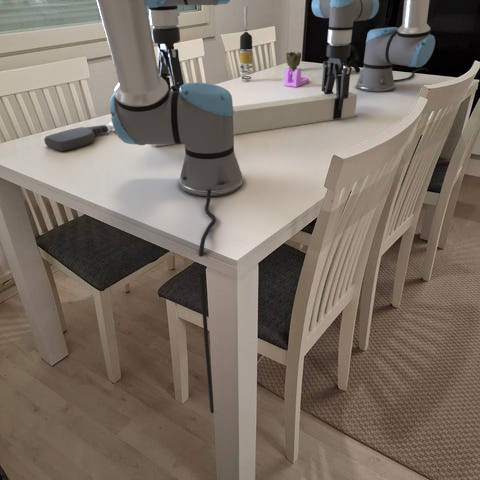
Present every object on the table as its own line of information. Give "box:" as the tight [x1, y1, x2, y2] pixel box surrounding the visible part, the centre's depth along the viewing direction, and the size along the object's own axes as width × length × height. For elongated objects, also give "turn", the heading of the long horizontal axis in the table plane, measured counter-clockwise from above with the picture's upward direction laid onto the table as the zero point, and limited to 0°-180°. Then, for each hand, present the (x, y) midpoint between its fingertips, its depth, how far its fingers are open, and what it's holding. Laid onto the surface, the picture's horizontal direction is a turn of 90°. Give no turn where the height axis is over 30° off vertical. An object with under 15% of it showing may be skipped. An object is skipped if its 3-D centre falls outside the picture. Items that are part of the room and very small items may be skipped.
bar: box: [152, 91, 358, 148], centre depth 144 cm, size 71×5×7 cm, turn 112°
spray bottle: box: [44, 121, 116, 152], centre depth 139 cm, size 3×11×25 cm
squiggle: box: [346, 45, 361, 73], centre depth 214 cm, size 11×10×15 cm
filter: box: [239, 6, 253, 82], centre depth 196 cm, size 6×6×30 cm
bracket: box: [284, 67, 310, 88], centre depth 196 cm, size 13×6×7 cm, turn 143°
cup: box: [285, 51, 302, 72], centre depth 220 cm, size 8×7×8 cm
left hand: (172, 105), depth 132 cm, fingers open, 13 cm apart
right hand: (332, 115), depth 155 cm, fingers closed on bar, 5 cm apart
